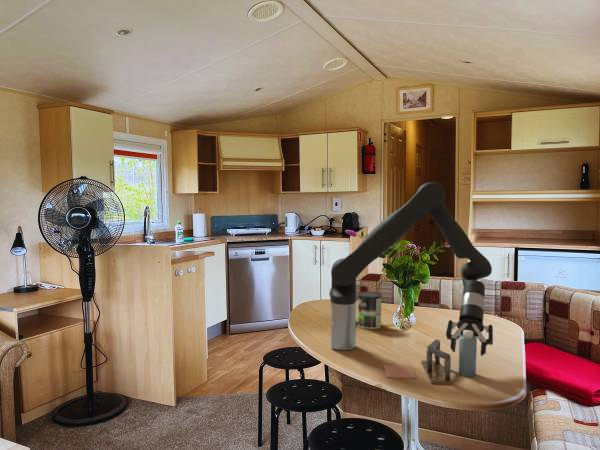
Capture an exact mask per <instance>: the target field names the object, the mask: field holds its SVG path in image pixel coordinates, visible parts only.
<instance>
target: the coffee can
mask: <svg viewBox="0 0 600 450" xmlns="http://www.w3.org/2000/svg"><path fill="white" fill-rule="evenodd" d="M382 294H383V293H380V292H377V291H361V292H358V293H357V326H358V327H359V328H361V329H366V330H376V329H377V330H378V329H380V328H381V327H382V296H383V295H382Z"/></svg>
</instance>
